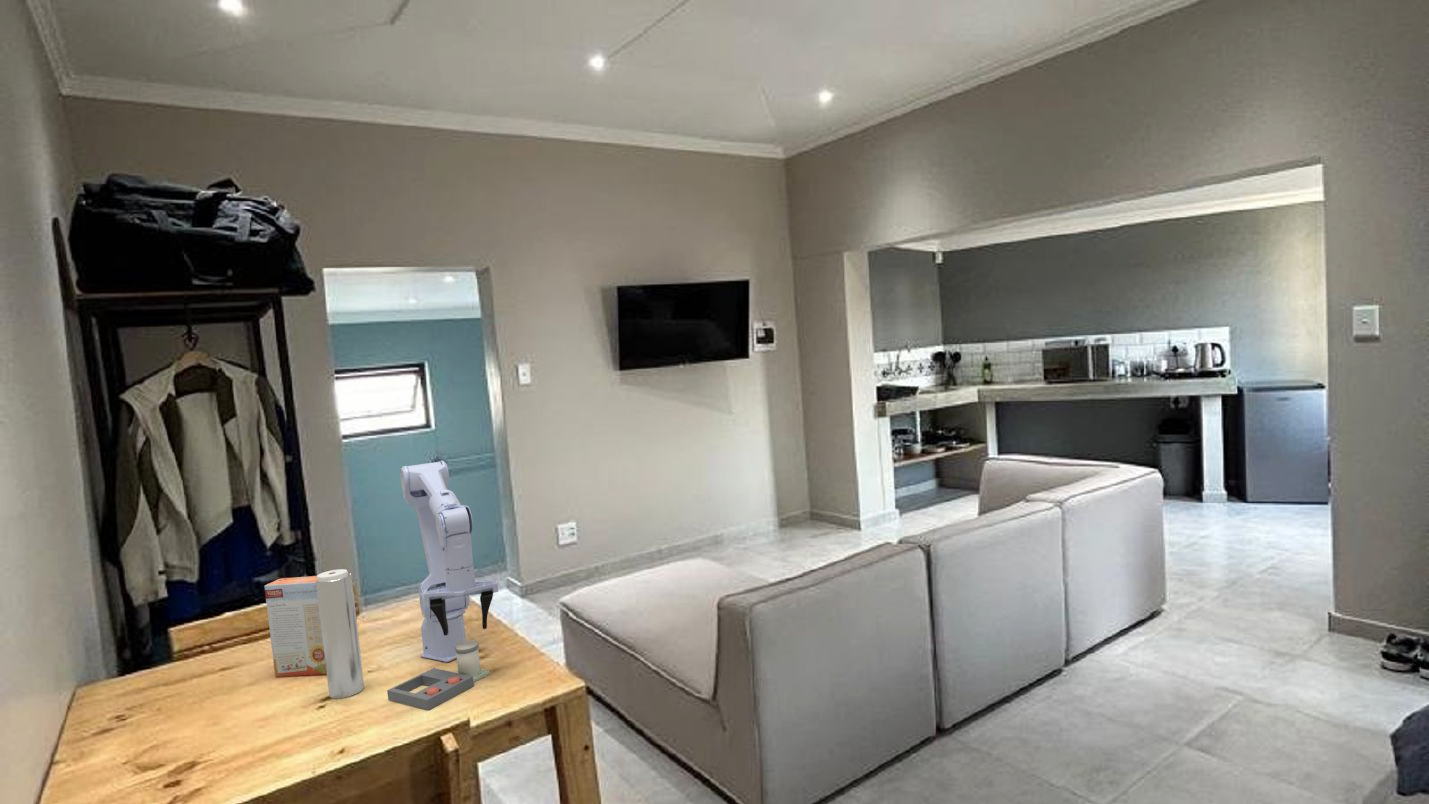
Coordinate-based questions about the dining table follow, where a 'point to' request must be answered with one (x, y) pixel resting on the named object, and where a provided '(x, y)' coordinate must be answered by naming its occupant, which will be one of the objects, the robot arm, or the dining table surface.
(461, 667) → the cylinder
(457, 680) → the plunger far
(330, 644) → the aluminum foil roll
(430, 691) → the plunger near
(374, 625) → the dining table surface
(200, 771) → the dining table surface
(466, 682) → the tray
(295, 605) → the cracker box
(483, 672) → the pad
